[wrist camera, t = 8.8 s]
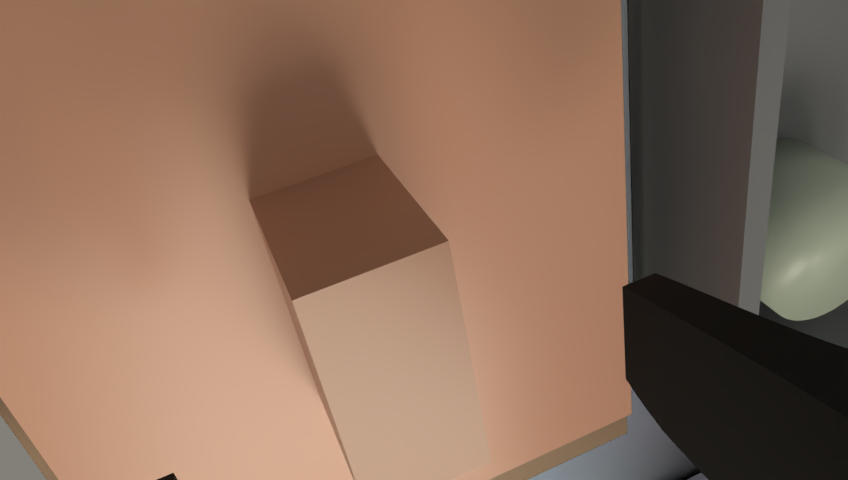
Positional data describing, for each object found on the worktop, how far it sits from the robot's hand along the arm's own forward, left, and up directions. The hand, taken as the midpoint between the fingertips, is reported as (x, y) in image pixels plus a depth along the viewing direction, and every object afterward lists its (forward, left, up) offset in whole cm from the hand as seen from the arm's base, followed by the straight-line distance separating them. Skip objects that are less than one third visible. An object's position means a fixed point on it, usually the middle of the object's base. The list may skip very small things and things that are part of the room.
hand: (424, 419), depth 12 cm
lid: (0, 0, -5) cm, 5 cm away
